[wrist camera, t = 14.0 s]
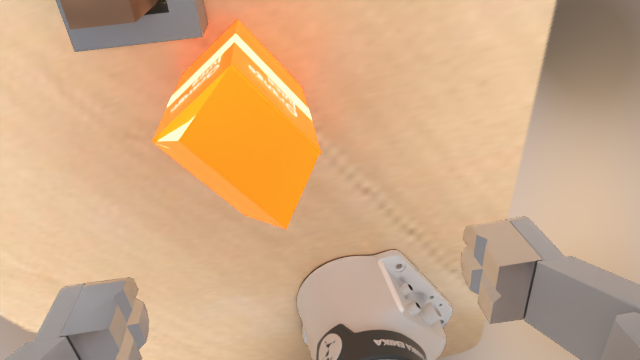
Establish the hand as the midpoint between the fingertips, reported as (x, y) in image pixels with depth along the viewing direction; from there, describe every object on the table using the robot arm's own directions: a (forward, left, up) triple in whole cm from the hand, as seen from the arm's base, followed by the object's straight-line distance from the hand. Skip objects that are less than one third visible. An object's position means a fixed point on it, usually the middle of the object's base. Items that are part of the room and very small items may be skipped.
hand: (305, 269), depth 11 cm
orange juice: (-2, +6, -34) cm, 35 cm away
